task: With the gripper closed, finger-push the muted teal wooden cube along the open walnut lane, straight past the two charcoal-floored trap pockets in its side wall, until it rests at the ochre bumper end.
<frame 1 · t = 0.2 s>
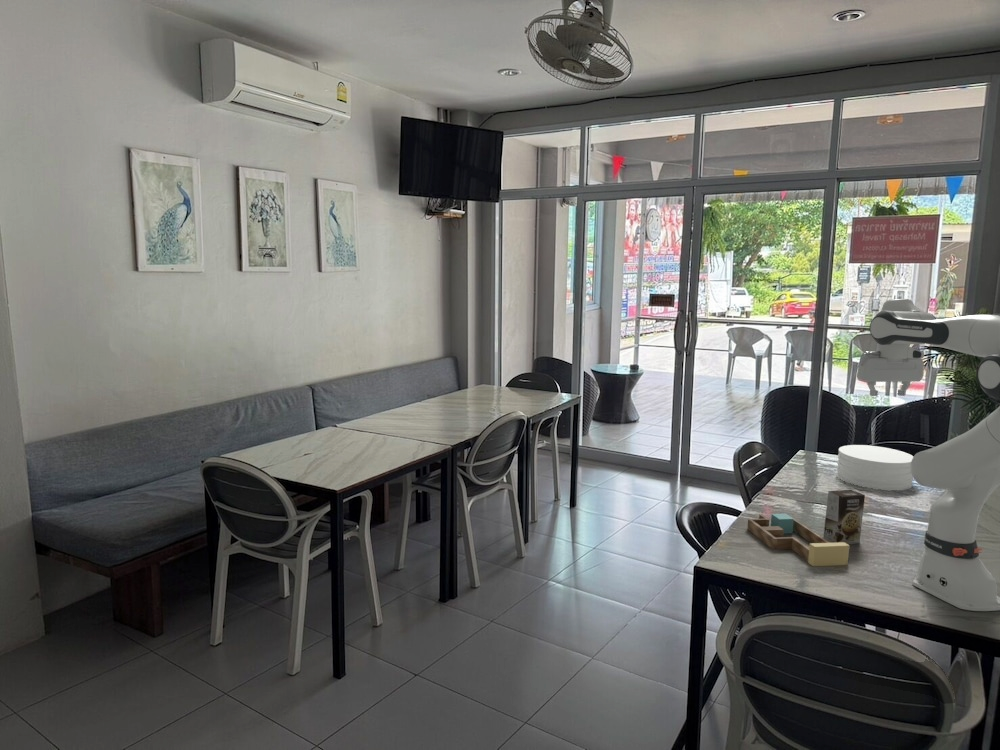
hand: (887, 395, 217), 48 cm above the table, fingers open, 8 cm apart
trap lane: (797, 542, 222), on the table
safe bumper: (827, 563, 206), on the table
coffee box: (841, 541, 224), on the table
plate stack: (873, 480, 291), on the table
block: (781, 530, 232), on the table
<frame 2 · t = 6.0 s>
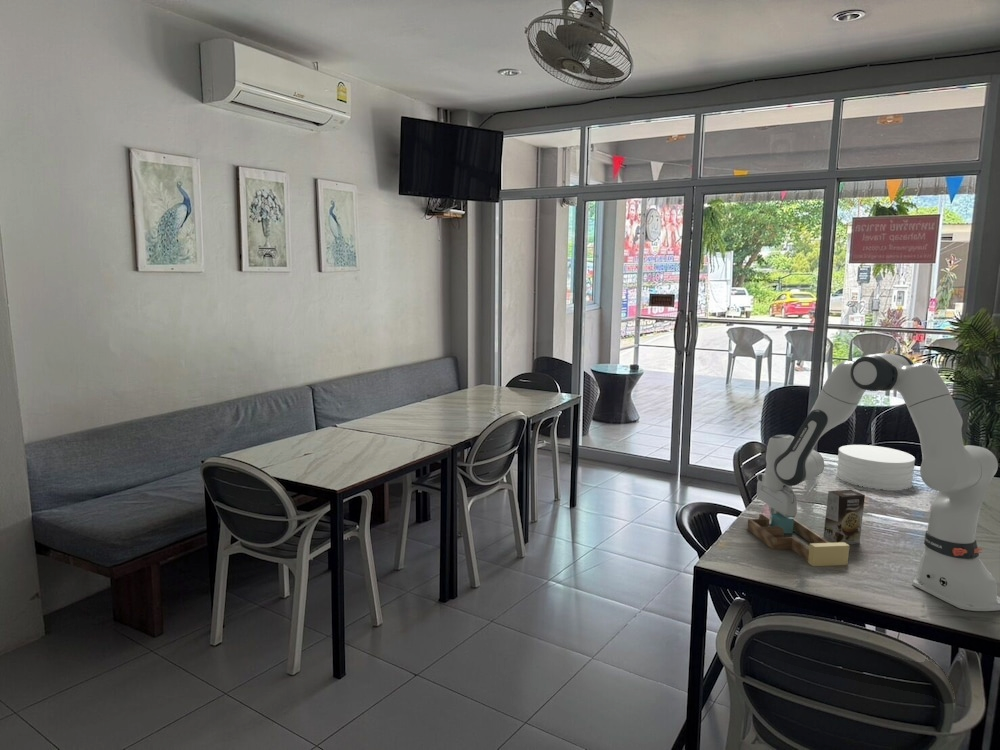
hand: (774, 520, 236), 2 cm above the table, fingers closed
block: (781, 530, 232), on the table, touching gripper
everything else where it was.
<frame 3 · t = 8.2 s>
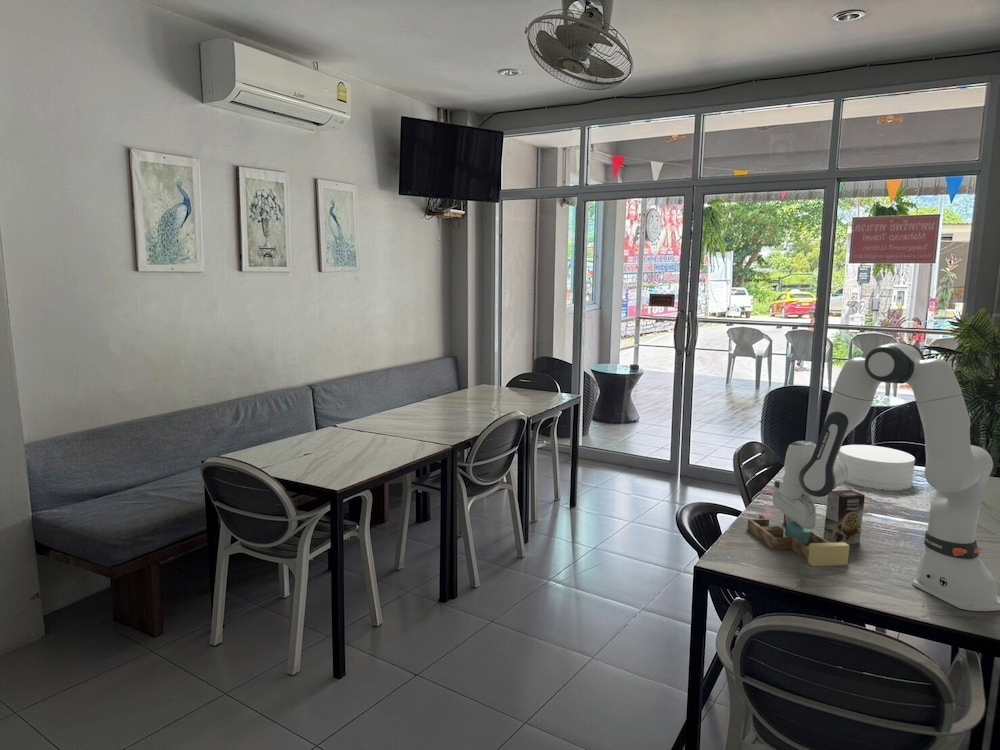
hand: (790, 530, 225), 2 cm above the table, fingers closed
block: (795, 538, 223), point 1 cm above the table, tilted 20°, touching gripper
everything else where it was.
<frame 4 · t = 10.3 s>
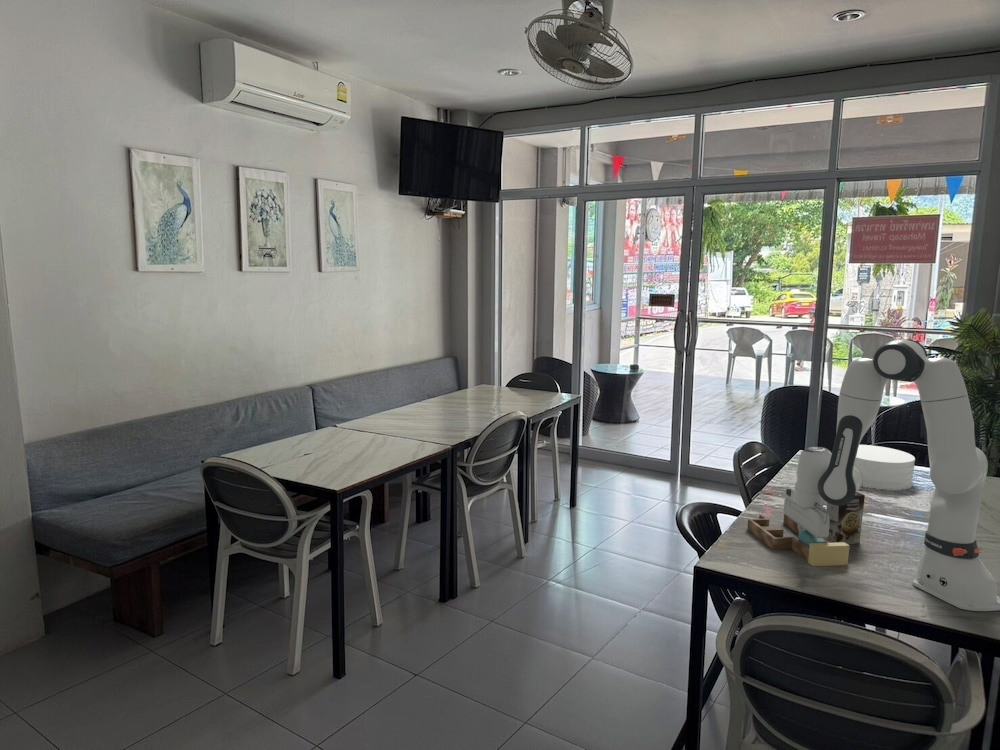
hand: (802, 539, 218), 2 cm above the table, fingers closed
block: (808, 548, 215), point 1 cm above the table, tilted 20°, touching gripper
everything else where it was.
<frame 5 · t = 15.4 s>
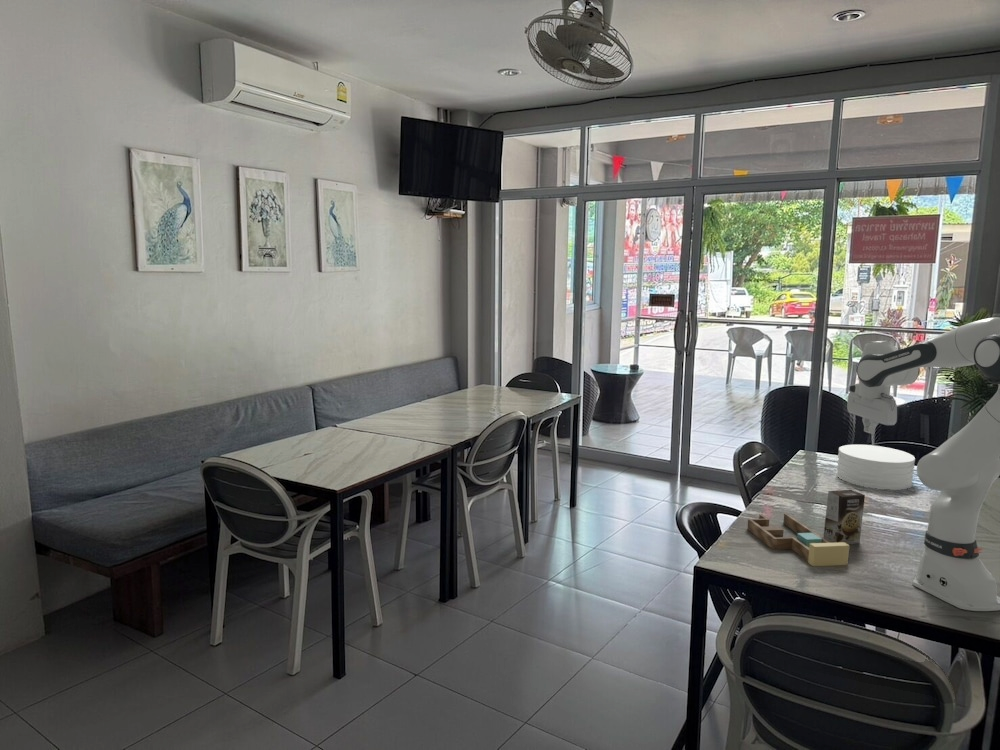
hand: (869, 432, 226), 34 cm above the table, fingers closed
block: (808, 551, 215), on the table
everything else where it was.
at the end: block inside the target area (1.9 cm from its centre), on the table; block moved 16.9 cm from its start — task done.
